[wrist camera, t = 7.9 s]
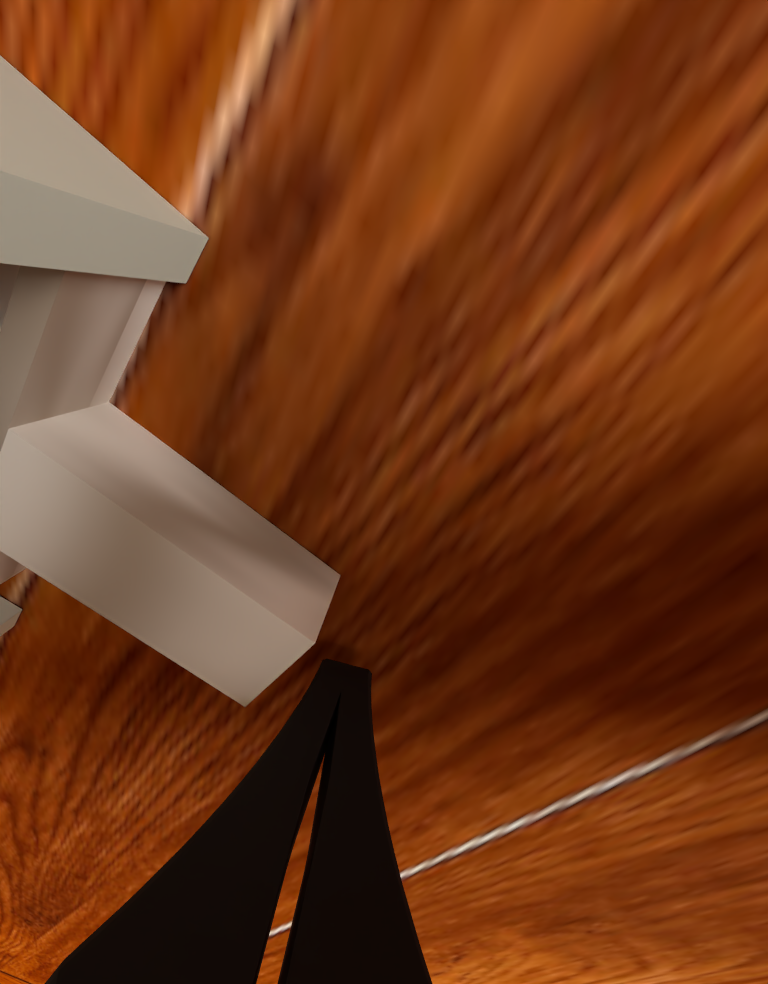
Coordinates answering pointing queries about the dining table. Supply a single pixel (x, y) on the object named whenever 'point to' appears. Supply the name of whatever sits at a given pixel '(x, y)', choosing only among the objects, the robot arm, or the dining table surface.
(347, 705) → the robot arm
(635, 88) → the dining table surface
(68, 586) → the drawer with block handle
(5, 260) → the grey bridge stand
